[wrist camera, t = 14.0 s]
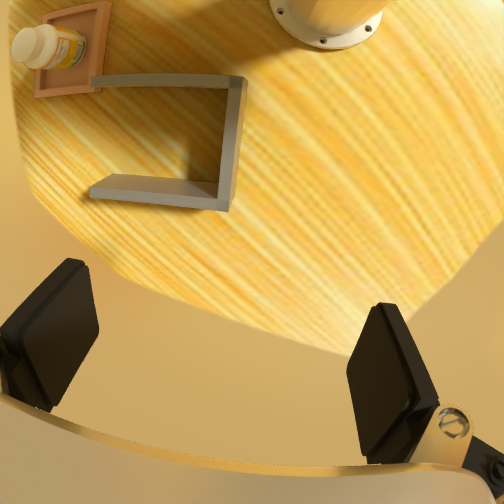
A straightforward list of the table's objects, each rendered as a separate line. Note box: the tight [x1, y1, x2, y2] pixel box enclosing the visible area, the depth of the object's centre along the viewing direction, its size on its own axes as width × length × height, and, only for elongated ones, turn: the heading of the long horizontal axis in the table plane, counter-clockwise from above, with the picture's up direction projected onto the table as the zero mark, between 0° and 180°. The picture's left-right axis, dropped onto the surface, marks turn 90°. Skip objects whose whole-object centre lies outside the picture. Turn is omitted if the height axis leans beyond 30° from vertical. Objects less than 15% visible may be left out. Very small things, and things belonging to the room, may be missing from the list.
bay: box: [89, 73, 248, 212], centre depth 32 cm, size 13×16×6 cm
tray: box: [34, 0, 112, 99], centre depth 28 cm, size 12×10×2 cm
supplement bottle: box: [10, 24, 87, 70], centre depth 24 cm, size 5×5×10 cm
